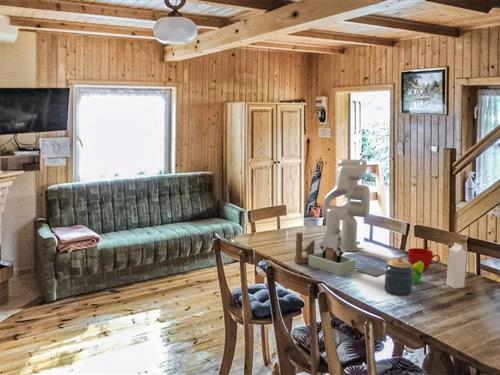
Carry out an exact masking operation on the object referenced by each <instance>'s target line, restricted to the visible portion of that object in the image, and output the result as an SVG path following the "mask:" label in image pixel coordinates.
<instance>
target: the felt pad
mask: <svg viewBox="0 0 500 375" xmlns="http://www.w3.org/2000/svg"><path fill="white" fill-rule="evenodd" d="M355 272H358V273H361V274H365V275H368V276H372V277H375V278H377V277H380V276H382V275H385V272H386V269H384V268H380V267H376V266H374V265H370V264H369V265H365V266H363V267H361V268H357V269H355Z"/></svg>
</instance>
